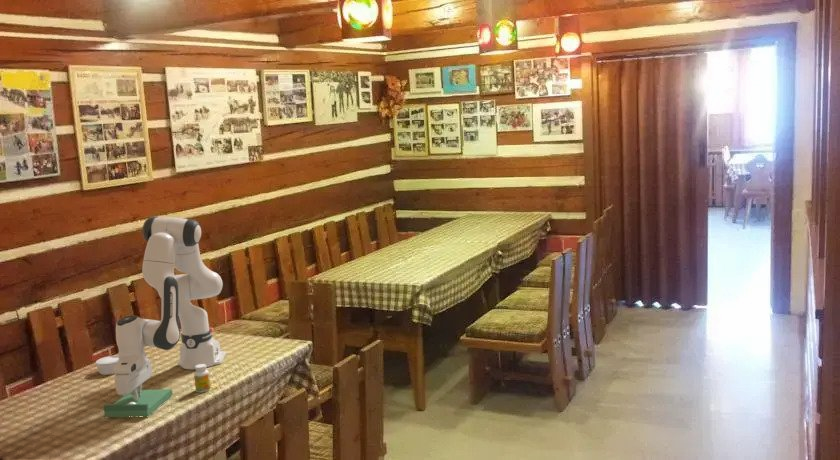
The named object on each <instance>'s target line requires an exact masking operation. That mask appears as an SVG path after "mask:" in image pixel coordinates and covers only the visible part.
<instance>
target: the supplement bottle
mask: <svg viewBox="0 0 840 460" xmlns="http://www.w3.org/2000/svg"><path fill="white" fill-rule="evenodd" d="M194 370H195V371H194V372H193V373H194V374H193V376H194V383H195V384H194V385H195V391H196V392H197V393H205V392H209V391H210V390H211V383H210V382H211V380H210V371H209V369H207V367H206V365H205V364H199V365H196V366H195V369H194Z"/></svg>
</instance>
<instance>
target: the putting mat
mask: <svg viewBox="0 0 840 460" xmlns="http://www.w3.org/2000/svg"><path fill="white" fill-rule="evenodd" d="M172 395H174V394H173V389H171V388H169V389H168V388H167V389H166V388H165V389H163V388H161V389H142V390H141V397H139V398H138V399H133V395H132V394H131V393H129V394H128V395H122V397H120V398H119V399H118V400H117V401H115V402H114V403H113V404H103V413H104V418H106V417H127V418H132V417H131V416H134V417H133V418H136V417H135V416H138V417H137V418H140V417H139V416H143V417H142V418H148V417H147V416H149V415H150V414H151V413H152V412H153V411H154V412H156V411H157V410H158V409H159V408H160V407H161V406H162V405H164V404H165V403H166V402H167V401H168V400H170V399H171V398H172V397H173V396H172ZM171 396H172V397H171ZM165 401H166V402H165ZM130 402H135V403H136V404H128V403H130ZM164 402H165V403H164ZM163 403H164V404H163ZM161 404H162V405H161ZM160 405H161V406H160ZM159 406H160V407H159ZM158 407H159V408H158ZM157 408H158V409H157ZM156 409H157V410H156ZM155 410H156V411H155ZM154 412H153V413H154ZM153 413H152V414H153ZM152 414H151V415H152ZM151 415H150V416H151ZM129 416H130V417H129ZM150 416H149V417H150ZM106 419H107V418H106Z"/></svg>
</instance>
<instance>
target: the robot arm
mask: <svg viewBox="0 0 840 460" xmlns="http://www.w3.org/2000/svg"><path fill="white" fill-rule="evenodd" d="M142 238H143V240H144V241H145V242H146V245H145V246H146V247H145V250H144V255H143V261H142V268H141V269H142V270H141V272H142V278H143V279H144V280H145V282H146V283H147V284H148V285H149V286H151V287H152V288H154V289H155V290H156V291H157V293H158V295H159V298H160V299H161V303H160V305H161V307H160V308H161V311H160V312H161V315H160V320H156V319H151V318H150V319H148V318H143V317H142V318H141V317H139V316H137V315H135V314H134V315H128V316H123V317H121V318H120V319H119V320H118V321H117V322H116V324H115V338H116V339H115V341H116V345H117V347H118V356H119V359H118V361H117V363H116V365H115V366H114V368H113V374H112V375H115V376H114V384H115V391H116V393H117V395H118V396H124V395H128V394H129V393H131V394H132V395H133V399H138V398H139V397H141V390H143V383H146V381H148V380H149V379H150V378H151V377H152V375H153V369H152V365H151V361H150V359H149V358H148V355H147V354H146V353H145V347H151V348H152V347H153V348H156V349H157V348H158V349H161V350H164V351H169V350H172V349H174V347H176V345H177V344H178V343H179V341H180V340H181V344H180V345H179V361H178V362H177V366H180V367H181V368H182V369H185V370H195V366H196V365H199V364H205V365H206V368H209V367H212V366H216V365H221V364H222V363H223V360H224V358H225V357H226V354H227V351H226V350H221V344H220V342H219V341H218V340H217V339H215V338H214V337H213V335H212V333H214V328H213V327H210V325H209V317H208V312H207V311H206V309H204V308H202V307H200V306H197V305H194V304H192V302H191V301H193V300H194V301H195V300H201V299H202V300H203V299H209V298H213V297H216V296H218V295H220V294H221V292H222V290H223V287H224V286H223V285H224V283H223V280H222V277H221V275H219V273H217V272H215V271H213V270H211V269H210V268H208V266H206V265H205V263H204V261H203V260H202V256H201V252H200V246H199V243H200V241H201V238H202V227H201V224H200V222H198V221H197V220H196V219H191V218H188V219H187V218H183V217H177V216H172V217H170V216H169V217H168V216H165V217H164V216H163V217H161V216H160V217H159V216H152V217H151V216H150V217H148V218H147V219H146V220H145V221H144V222H143V225H142ZM175 269H176V270H177V271H179V272H180V273H183V274H175Z"/></svg>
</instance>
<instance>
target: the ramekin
mask: <svg viewBox="0 0 840 460" xmlns="http://www.w3.org/2000/svg"><path fill="white" fill-rule="evenodd" d="M118 359H119V356H118V355H108V356H104V357H101V358H99V359H97V360H96V361H95V365H96V367H97V370H98V373H99V374H100V375H104V376H108V375H109V376H110V375H114V374H113V368H114V366H115V365H116V363H117V361H118Z"/></svg>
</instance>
